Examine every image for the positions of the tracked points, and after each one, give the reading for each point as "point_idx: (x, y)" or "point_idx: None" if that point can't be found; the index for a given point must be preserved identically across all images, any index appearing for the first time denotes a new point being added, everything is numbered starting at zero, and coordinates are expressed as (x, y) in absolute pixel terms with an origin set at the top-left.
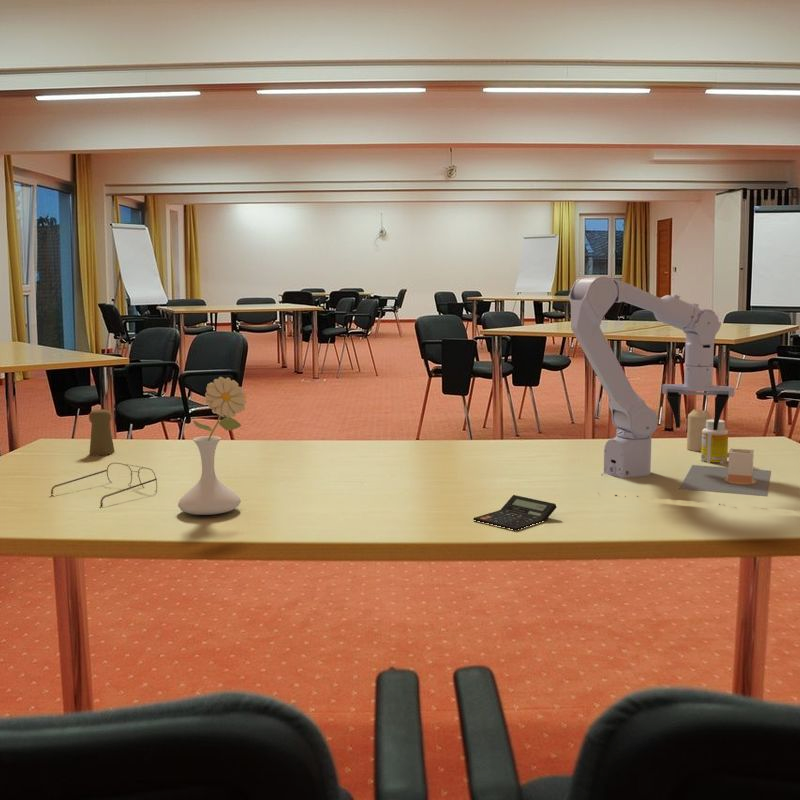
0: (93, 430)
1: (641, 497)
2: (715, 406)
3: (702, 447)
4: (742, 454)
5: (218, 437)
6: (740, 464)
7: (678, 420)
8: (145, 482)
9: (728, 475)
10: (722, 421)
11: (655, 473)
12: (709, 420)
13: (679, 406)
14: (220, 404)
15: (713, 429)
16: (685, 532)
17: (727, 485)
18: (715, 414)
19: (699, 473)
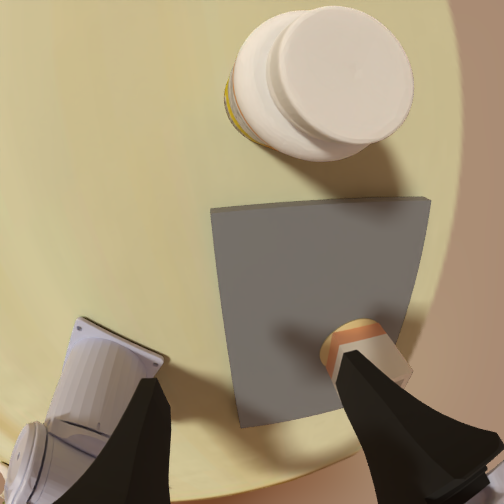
0: None
1: (194, 444)
2: (378, 490)
3: (236, 122)
4: None
5: (4, 498)
6: None
7: (168, 444)
8: None
9: (331, 377)
10: (405, 106)
11: (130, 310)
12: (309, 74)
13: (151, 496)
14: None
15: (336, 386)
16: (273, 478)
17: (322, 383)
18: (367, 451)
19: (256, 322)
